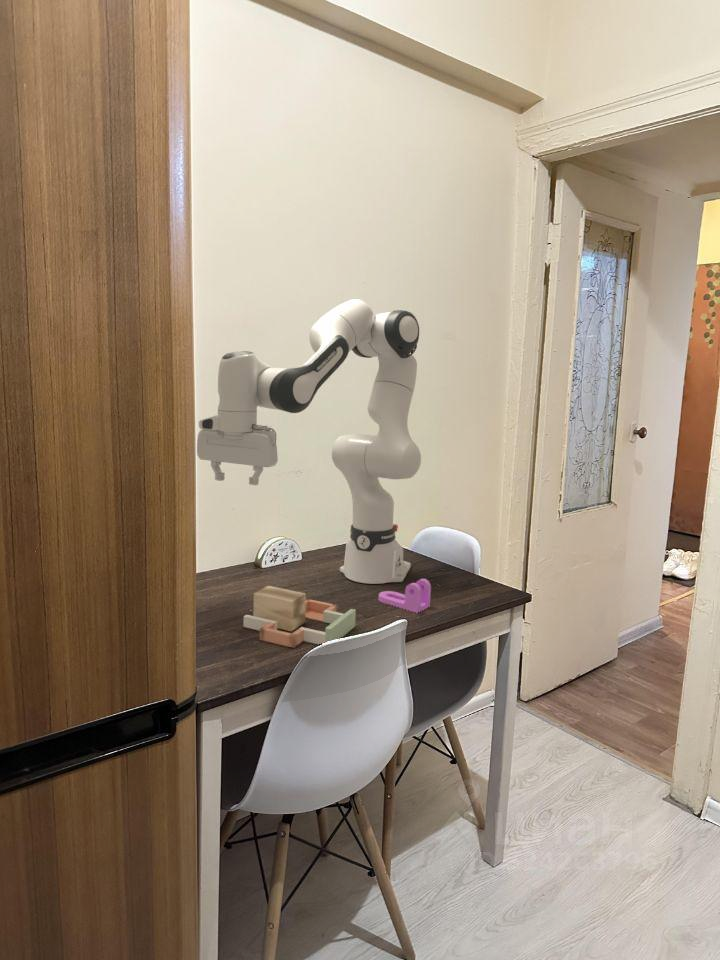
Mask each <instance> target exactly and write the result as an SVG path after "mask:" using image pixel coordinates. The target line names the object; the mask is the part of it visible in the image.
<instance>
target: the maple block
mask: <svg viewBox="0 0 720 960" xmlns="http://www.w3.org/2000/svg"><path fill="white" fill-rule="evenodd" d="M306 596H307V593H305V592H301V591H295V590H291V589H286V588H282V587H281V588H280V587H277V586H271V585H266V586H265V587H263V588H261V589H260V590H257V591H256V592H254V593H253V616H255V617H260V618H264V619H269V620H273V621H277V629H279V630H284V631H286V632H287V631H288V632H294V630H297V629H298V628H300V626H302V625H303V624H305V623H306V618H305V607H306V599H307V598H306Z"/></svg>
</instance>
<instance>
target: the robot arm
mask: <svg viewBox="0 0 720 960" xmlns="http://www.w3.org/2000/svg"><path fill="white" fill-rule="evenodd" d="M419 337H420V325H419V322H418V319H417V317H416V316H415V315H414V314H413V313H412V312H410V311H407V310H402V309H397V310H396V309H395V310H392V311H387V312H381V313H377V314H374V311H373V310H372V308H371V306H370V305H369V304H368V303H367V302H366V301H364V300H362V299H359V298H353V299H348V300H347V301H345V302H343V303H340V304H339V305H337V306H335V307H334V308H331V310H329V311H327V312H326V313H324V315H322V316H321V317H320V318H319V319H318V320H317V321H315V322H314V324H313V325H312V326H311V328H309V344H310V346H311V348H312V351H313V353H314V354H313V355H311V357H310V358H309V359H308V360H307V361H305V363H304V364H302V365H300V366H296V367H289V368H286V367H274V366H271V365H269V364H267V363H265V362H264V361H262V360H261V359H259V358H258V356H257V355H256V354H255V353H254V352H252V351H249V350H248V351H247V350H242V351H233V352H228V353H226V354H224V355H223V356H222V357H221V359H220V361H219V365H218V374H217V375H218V377H217V392H218V397H219V401H218V402H219V403H218V405H217V414H215V415H213V416H208V417H205V418H202V419H199V421H198V427H199V429H200V431H198V434H197V442H196V454H197V457H198V459H200V460H202V461H208V462H209V461H210V467H211V468H212V471H213V473H214V480H215V481H220V482H221V481H222V482H223V481H224V480H225V475H226V474H225V472H223V471H222V469H221V467H220V465H222V463H227V464H236V465H243V466H245V465H246V466H252V468H253V469H252V470H253V471H254V472H253V475H252V476H249V478H248V481H249V482H248V484H249V486H257V485H259V481H260V479H259V478H260V476H261V474H262V473H263V471H264V468H272V467H275V466H276V465H277V463H278V456H279V455H278V447H277V446H278V445H277V431H276V430H275V429H274V428H272V426H270V425H262V424H261V425H260V424H257V423H258V422H257V421H258V417H257V416H258V407H260V408H263V409H264V408H265V409H271V410H279V411H282V412H287V413H290V414H299V413H301V412H303V411H305V410H306V409H307V408H308V407H309V406H310V404H311V403H312V401H313V400H314V397H315V396H316V394H317V392H318V390H319V389H320V388H321V387H322V385H323V384H324V383H325V382H326V381H327V380H328V379H330V377H331V376H332V375H333V374H334V373H335V372H336V371H337V370H338V369H339V368H340V367H341V365H342V364H343V363H344V362H345V360H346V359H347V357H348V355H349V353H350V352H351V351H352V352H353V354H355V355H356V356H358V357H360V358H365V359H366V358H367V359H368V358H369V359H371V358H373V357H374V358H375V357H377V360H378V371H377V373H376V375H375V378H374V379H375V380H374V382H373V385H372V390H371V393H370V397H369V400H368V405H367V413H368V416H369V417H370V418H371V420H372V421H373V422H375V423H376V424H377V425H378V434H377V435H372V434H363V433H350V434H344V435H340V436H338V437H337V438H336V440H335V441H334V443H333V445H332V448H331V460H332V463H333V465H334V466H335V468H336V469H338V470H339V471H340V473H341V474H342V475H343V477H344V478H345V480H346V482H347V484H348V487H349V490H350V494H351V501H352V502H351V503H352V524H351V525H350V532H349V534H350V537H349V538H350V540H349V541H348V542H347V543H346V544H345V552H344V553H345V554H344V561H343V562H344V563H343V565H341V566H340V567H339V572H340V573H343V574H344V576H345V577H346V578H347V579H349V580H351V581H353V582H356V583H361V584H370V585H372V584H373V585H374V584H375V585H377V584H386V583H402V582H403V581H405V580H404V579H406V576H407V574H408V573H409V571H410V569H411V567H412V563H410V562H408V561H406V560H404V547H402V546H401V544H399V542H398V541H397V540H396V533H397V531H398V529H399V525H398V524H394V510H395V509H394V508H395V507H394V506H395V502H394V499H393V496H392V495H391V493H389V492H388V491H387V490H385V489H384V488H383V486H382V484H381V482H380V480H379V478H382V479H387V480H407V479H411V478H412V477H414V476H415V475H416V474H417V472H418V471H419V469H420V467H421V464H422V455H421V451H420V448H419V446H418V445H417V443H415V442H414V441H413V439H412V437H411V435H410V432H409V428H408V419H409V412H410V407H411V404H412V403H411V402H412V399H413V395H414V392H415V388H416V387H415V386H416V381H417V380H416V379H417V371H418V363H417V359H416V357H415V356H414V355H413V354H415V351H416V350H417V347H418V343H419V339H420V338H419Z"/></svg>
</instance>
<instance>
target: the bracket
mask: <svg viewBox="0 0 720 960" xmlns="http://www.w3.org/2000/svg"><path fill="white" fill-rule="evenodd" d="M404 591H405V592H404V594H403V593H401V592H397V591H393V590H384V591H381V592H379V593H378V601H380V603H383V604H387V605H389V604H390V605H389V606H392V605H393V606H392V607H395V606H396V608H398V607H399V608H398V609H402V608H403V609H402V610H405V609H406V610H405V611H408V610H409V611H408V612H411V611H412V612H411V613H414V612H416V613H415V614H419V613H421V612H423V611H425V610H427V609H429V608H430V607H431V596H432V595H431V592H432V585H431V583H430V581H429V580H428V579H427V578H420V579H418V580H417V581H416V582H411V583H408V584H407V585H406V587H405V590H404ZM428 607H429V608H428ZM426 608H427V609H426ZM424 609H425V610H424ZM422 610H423V611H422ZM420 611H421V612H420ZM418 612H419V613H418Z"/></svg>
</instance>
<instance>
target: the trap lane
mask: <svg viewBox="0 0 720 960" xmlns="http://www.w3.org/2000/svg"><path fill="white" fill-rule="evenodd" d="M356 611H357V610H356V609H353V608H350V609H349V610H347V611H346V612H345V613H343V612H339V605H338V604H333V603H329V602H325V601H324V602H323V601H320V600H319V601H318V600H316V599H315V600H314V599H310V598H306V607H305V619H309V620H313V621H318V622H321V623H325V624H329V625H328V626H326V627H324V628H325V629H324V630H325V631H321V630H317V629H312V628H308V627H304V626H301V627H300V626H299V627H298V628H297V629H295V631H292V633H291V632H287V631H282V630H280V629H279V630H278V628H277V621H273V620H269V619H264V618H260V617H255V616H254V615H250V614H245V615H243V628H247V629H251V630H256V631H258V632H259V641H262V642H267V643H272V644H275V645H279V646H284V647H289V648H291V647H292V648H293V649H295V648H296V647H297V646H298V645H300V644H302V642H306V643H310V644H315V645H319V644H321V643H324V642H327V641H330V640H333V639H337V638H340V637H342V638H344V637H345V636H346V635H347V634H348V633H349V632H350V631H351V630H353V629H355V627H356V616H357V615H356V614H357V612H356ZM319 646H320V645H319Z"/></svg>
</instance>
